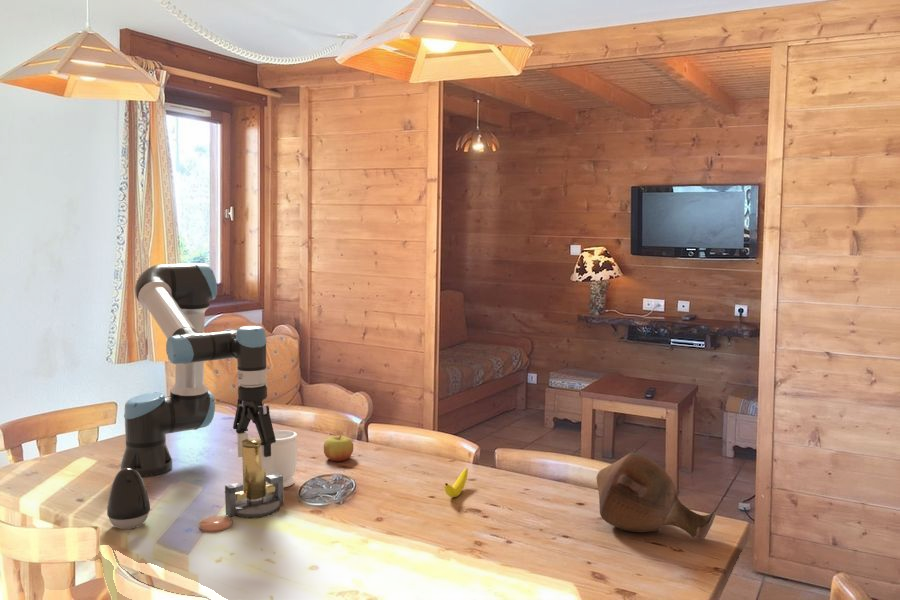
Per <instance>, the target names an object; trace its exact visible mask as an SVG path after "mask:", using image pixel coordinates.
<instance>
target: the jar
mask: <svg viewBox="0 0 900 600" xmlns="http://www.w3.org/2000/svg"><path fill="white" fill-rule="evenodd" d="M273 431H274V435H275V439H276V442H275V443H272V444H271V466H272V467H271V468H266V476H268V475H273V474H277V473H278V474H280V475H282V476H283V489H285V488H287V487H290V486H292V485H294V484H295V479H294V476H295V473H296V470H297V463H298V444H297V440H296V439H297V437H298V432H295V431H293V430H287V429H286V430H273ZM266 485H270V484H269V483H268V482H266ZM272 485H273V484H272Z"/></svg>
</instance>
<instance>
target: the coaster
mask: <svg viewBox="0 0 900 600" xmlns="http://www.w3.org/2000/svg"><path fill="white" fill-rule="evenodd" d="M232 525H233V522H232V518H230V517H229V516H227V515H225V516H224V515H214V516H208V517H206V518H204V519H201V520H200V521H199V523H198V528H199V529H200V530H201V531H202V532H207V533H213V532H214V533H215V532H222V531H225V530H227V529H229V528H231V526H232Z"/></svg>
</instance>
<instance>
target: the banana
mask: <svg viewBox="0 0 900 600" xmlns="http://www.w3.org/2000/svg"><path fill="white" fill-rule="evenodd" d="M468 470H469V469H468V467H466V468H464V469H463V470H462V472H460V474H459V476H458V477H457V479H456V480H455V481H454V483H453V484H452V485H450V484H448V483H446V482H445V486H444V491H445V494H446V495H447V496H448V497H450V498H456V497H458V496H459V495H461V493H462V491H463V489H465V488H464V487H465V485H466V482H467V480H468Z"/></svg>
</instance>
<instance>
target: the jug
mask: <svg viewBox="0 0 900 600" xmlns="http://www.w3.org/2000/svg"><path fill="white" fill-rule="evenodd" d="M596 484H597V490H598V499H599V500H598V501H599V504H598V505H599V515H600V517H601V519H602V520H604V521H605V522H606V523H607V524H609V525H610V526H613V527H615V528H617V529H620V530H623V531H627V532H633V533H648V532H649V533H650V532H653V531H654V532H656V534H660V533H661V532H662V531H661V529H662V527H664V526H674V527H676V528H679V529H681V530H683V531H685V532H686V533H688V535H690V536H692V538H697V539H700V540H701V541H702V540H705V539H706V537H707V535H708V533H709V531H710V529H711V527H712V525H713V523H714V521H715V518H716V514H717V513H716V511H712V512H711V513H709V514H706V515H705V514H704V515H702V514H699V513H697V512H694V511H693V510H692V509H690V508H688V507H687V506H685V505H684V504H683V503H682V502H681V501H680V499H679V498H678V497H679V496H678V493H677V488H676V486H675V484H674V481H673V480H672V478H671V476H670V475H669V474H668V473H667V471H666V470H664V469H663V468H662V467H661V465H659V464H658V463H657V462H655V461H653V460H652V459H651V458H650V457H648V456H645V455H644V454H641V453H639V452H629V453H627V454H626V455H624V456H623V457H621V458H620V459H618V460H616V461H615V462H613V463H611V464H610V465H607V466H606V467H604V468H601V469H600V470H599V471H598V472H597V474H596Z"/></svg>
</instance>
